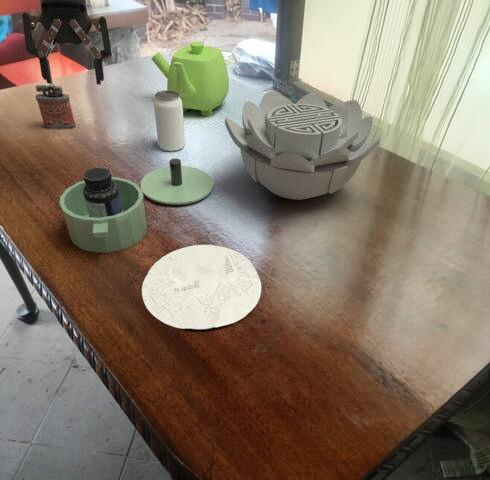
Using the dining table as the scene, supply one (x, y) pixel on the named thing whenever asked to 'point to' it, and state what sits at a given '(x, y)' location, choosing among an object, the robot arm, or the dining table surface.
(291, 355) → the dining table surface
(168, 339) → the dining table surface
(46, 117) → the lighter
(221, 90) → the teapot
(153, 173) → the lid
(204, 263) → the plaque
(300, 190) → the decorative bowl
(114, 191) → the pill bottle
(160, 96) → the can
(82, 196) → the pot
